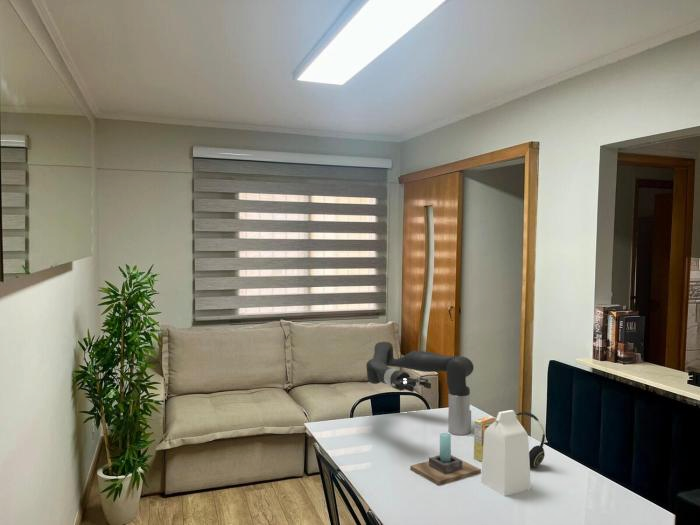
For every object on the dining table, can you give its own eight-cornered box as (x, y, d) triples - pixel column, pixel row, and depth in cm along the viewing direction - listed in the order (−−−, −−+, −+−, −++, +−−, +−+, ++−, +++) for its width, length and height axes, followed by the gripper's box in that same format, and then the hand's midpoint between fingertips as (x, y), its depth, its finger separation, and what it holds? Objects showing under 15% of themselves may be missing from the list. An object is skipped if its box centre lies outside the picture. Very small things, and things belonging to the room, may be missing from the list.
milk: (504, 495, 186) (505, 418, 185) (481, 482, 196) (481, 409, 195) (530, 488, 191) (531, 413, 190) (507, 476, 201) (507, 404, 200)
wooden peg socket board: (451, 458, 217) (451, 447, 217) (480, 473, 204) (480, 461, 204) (410, 469, 207) (410, 457, 207) (438, 485, 193) (438, 472, 193)
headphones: (516, 456, 220) (517, 406, 220) (550, 467, 209) (551, 415, 208) (503, 461, 215) (504, 410, 214) (537, 473, 204) (538, 419, 203)
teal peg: (445, 464, 208) (445, 432, 208) (453, 467, 205) (453, 435, 204) (437, 466, 206) (437, 434, 206) (444, 470, 203) (444, 437, 202)
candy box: (487, 453, 223) (487, 415, 222) (496, 456, 220) (496, 418, 219) (473, 459, 217) (473, 420, 217) (482, 462, 214) (482, 422, 213)
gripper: (410, 385, 234) (435, 394, 220) (382, 390, 227) (407, 399, 213) (410, 367, 234) (436, 375, 220) (382, 372, 226) (407, 380, 213)
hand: (421, 387), depth 216 cm, fingers open, 8 cm apart
